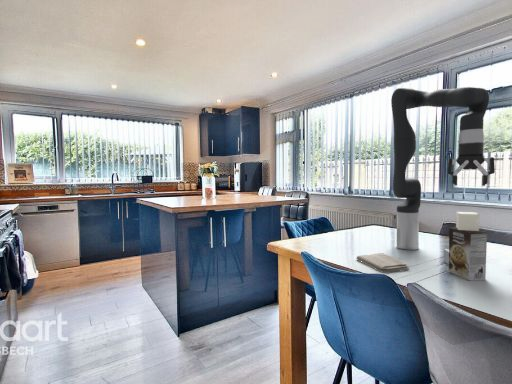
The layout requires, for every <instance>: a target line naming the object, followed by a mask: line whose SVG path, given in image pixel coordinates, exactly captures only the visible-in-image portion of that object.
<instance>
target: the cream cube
mask: <svg viewBox="0 0 512 384" xmlns="http://www.w3.org/2000/svg"><path fill="white" fill-rule="evenodd" d="M455 213H456V217H455V220H456V222H455V223H456V224H455V227H456V228H457V229H458V230H469V231H479V230H480V214H479V213H477V212H476V211H475V212H473V211H456V212H455Z"/></svg>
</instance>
